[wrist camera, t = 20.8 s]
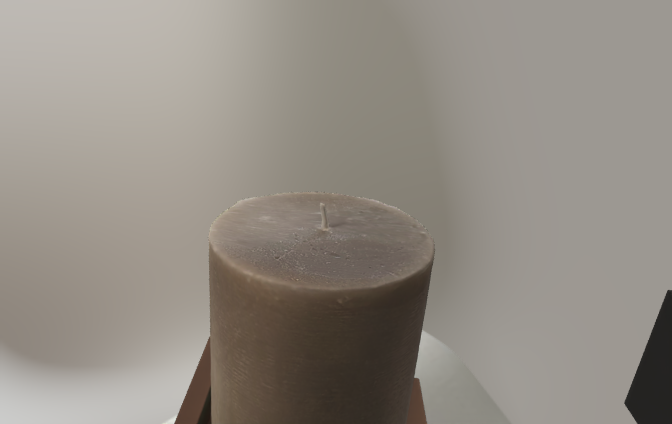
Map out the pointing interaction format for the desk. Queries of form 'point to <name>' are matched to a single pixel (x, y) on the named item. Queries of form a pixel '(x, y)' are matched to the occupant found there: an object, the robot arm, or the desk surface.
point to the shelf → (197, 402)
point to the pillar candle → (315, 310)
